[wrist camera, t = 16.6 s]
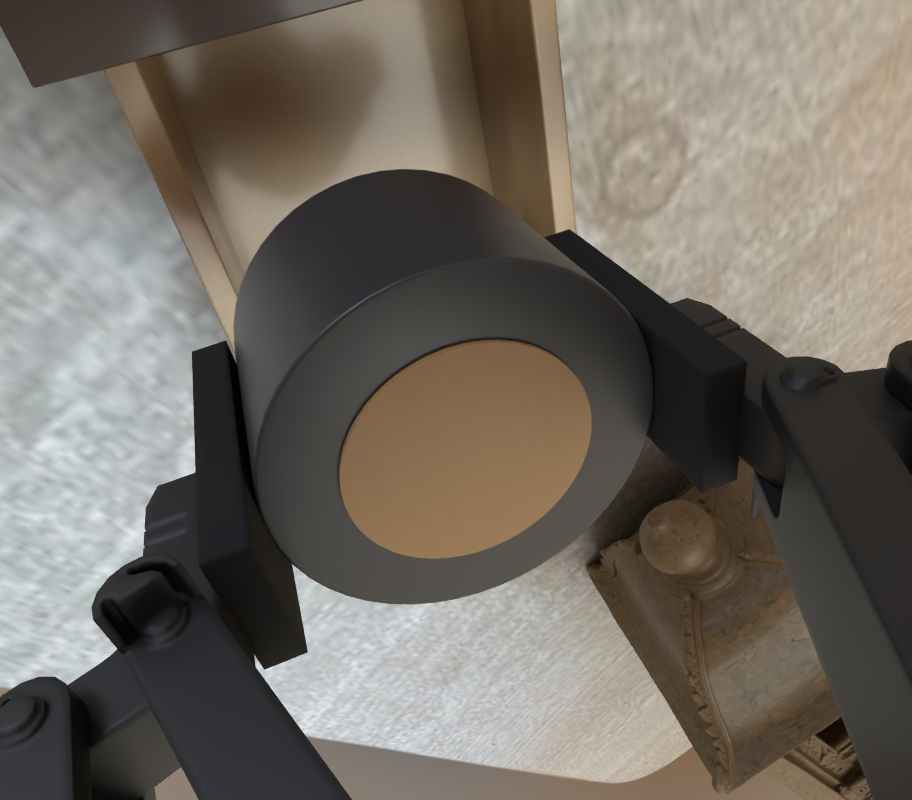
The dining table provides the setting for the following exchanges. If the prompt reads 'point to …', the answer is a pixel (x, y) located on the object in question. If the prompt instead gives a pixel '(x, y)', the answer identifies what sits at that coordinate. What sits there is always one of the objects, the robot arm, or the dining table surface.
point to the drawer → (349, 118)
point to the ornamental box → (730, 643)
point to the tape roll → (430, 389)
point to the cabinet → (129, 29)
